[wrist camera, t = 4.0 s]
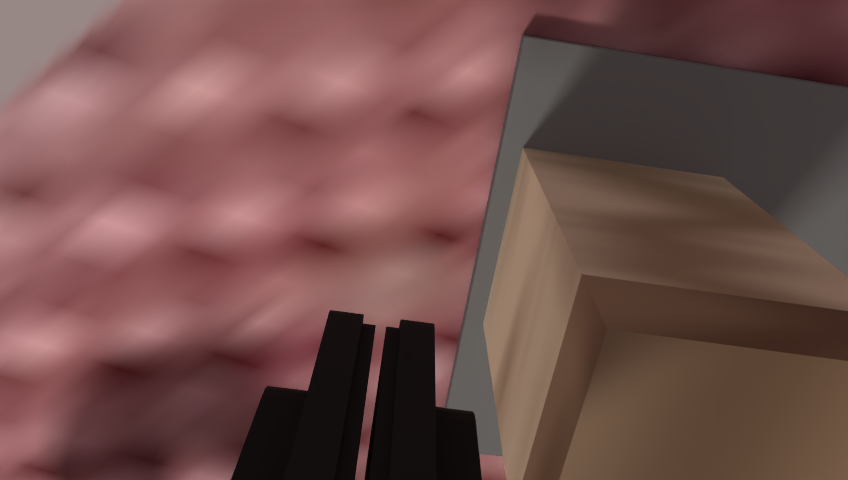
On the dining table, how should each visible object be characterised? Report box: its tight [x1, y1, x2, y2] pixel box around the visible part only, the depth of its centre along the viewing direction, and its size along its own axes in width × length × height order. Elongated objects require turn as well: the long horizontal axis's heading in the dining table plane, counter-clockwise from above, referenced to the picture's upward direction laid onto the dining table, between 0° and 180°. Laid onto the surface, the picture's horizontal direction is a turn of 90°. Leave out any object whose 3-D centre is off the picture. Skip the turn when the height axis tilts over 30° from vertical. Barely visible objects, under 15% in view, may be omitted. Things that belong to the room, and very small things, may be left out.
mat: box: [445, 34, 848, 456], centre depth 18 cm, size 14×12×1 cm
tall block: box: [483, 147, 848, 480], centre depth 13 cm, size 5×5×8 cm
